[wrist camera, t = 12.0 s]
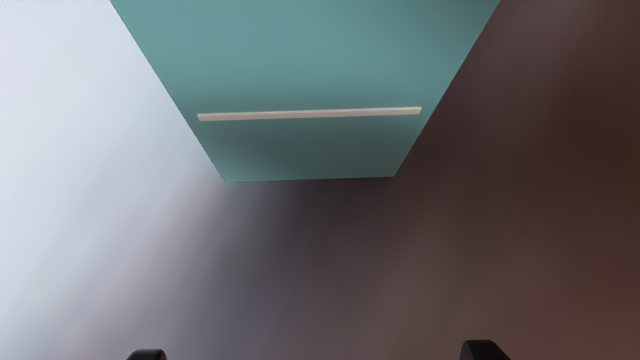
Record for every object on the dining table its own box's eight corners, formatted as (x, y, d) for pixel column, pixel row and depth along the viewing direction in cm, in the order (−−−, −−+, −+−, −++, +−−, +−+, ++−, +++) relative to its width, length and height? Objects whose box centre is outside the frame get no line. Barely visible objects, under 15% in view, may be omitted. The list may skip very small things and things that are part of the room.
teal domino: (394, 177, 18) (553, -82, 6) (224, 184, 18) (61, -71, 6) (389, 110, 18) (529, -250, 7) (224, 116, 18) (72, -243, 7)
